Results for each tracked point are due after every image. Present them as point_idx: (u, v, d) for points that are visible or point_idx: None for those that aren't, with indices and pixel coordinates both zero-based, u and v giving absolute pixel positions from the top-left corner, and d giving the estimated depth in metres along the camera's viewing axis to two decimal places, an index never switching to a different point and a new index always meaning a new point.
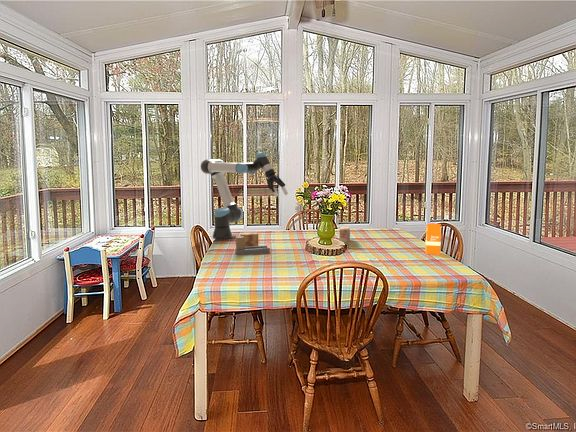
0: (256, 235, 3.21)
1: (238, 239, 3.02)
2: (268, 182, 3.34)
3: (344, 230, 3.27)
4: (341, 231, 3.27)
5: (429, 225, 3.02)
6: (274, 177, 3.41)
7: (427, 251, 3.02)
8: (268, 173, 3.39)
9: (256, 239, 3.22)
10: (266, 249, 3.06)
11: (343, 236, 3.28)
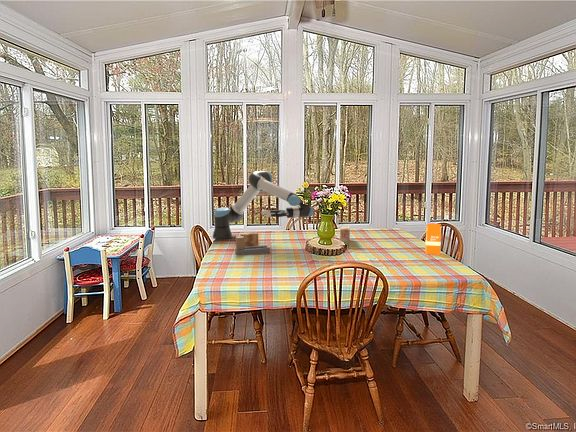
0: (256, 235, 3.21)
1: (238, 239, 3.02)
2: (282, 214, 3.18)
3: (345, 230, 3.27)
4: (342, 231, 3.27)
5: (429, 225, 3.02)
6: None
7: (427, 251, 3.02)
8: (290, 214, 3.25)
9: (256, 239, 3.22)
10: (266, 249, 3.06)
11: (343, 236, 3.28)
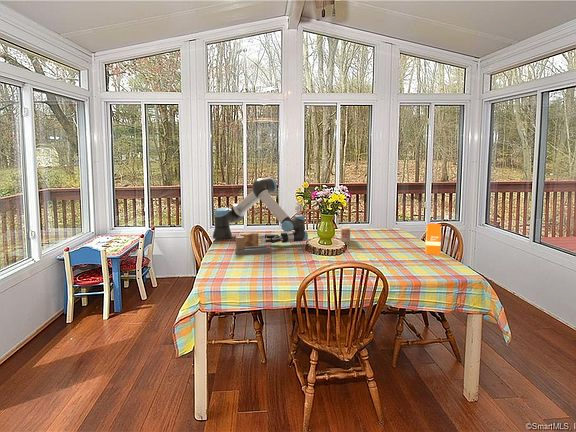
0: (256, 235, 3.21)
1: (238, 239, 3.02)
2: (277, 240, 3.19)
3: (346, 230, 3.27)
4: (343, 231, 3.27)
5: (429, 225, 3.02)
6: None
7: (427, 251, 3.02)
8: (284, 239, 3.26)
9: (256, 239, 3.22)
10: (266, 249, 3.06)
11: (345, 236, 3.28)
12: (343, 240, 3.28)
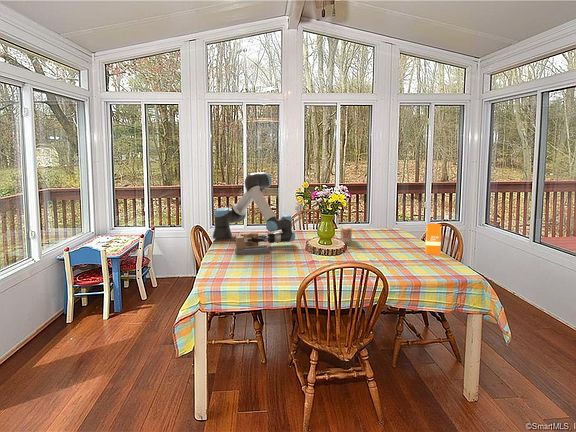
0: (256, 235, 3.21)
1: (238, 239, 3.02)
2: (260, 240, 3.19)
3: (347, 230, 3.27)
4: (344, 231, 3.28)
5: (429, 225, 3.02)
6: None
7: (427, 251, 3.02)
8: (271, 239, 3.24)
9: None
10: (266, 249, 3.06)
11: (346, 236, 3.28)
12: (344, 240, 3.29)
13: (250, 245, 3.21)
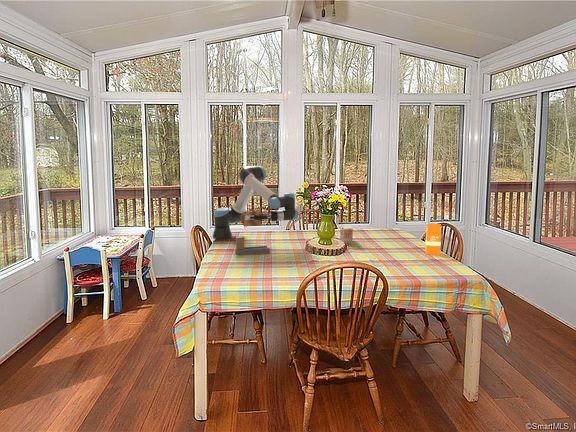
0: (259, 212, 3.15)
1: (238, 239, 3.02)
2: (262, 217, 3.12)
3: (349, 230, 3.28)
4: (346, 231, 3.28)
5: (429, 225, 3.02)
6: None
7: (427, 251, 3.02)
8: (274, 217, 3.17)
9: None
10: (266, 249, 3.06)
11: (347, 236, 3.28)
12: (346, 240, 3.29)
13: (253, 223, 3.15)
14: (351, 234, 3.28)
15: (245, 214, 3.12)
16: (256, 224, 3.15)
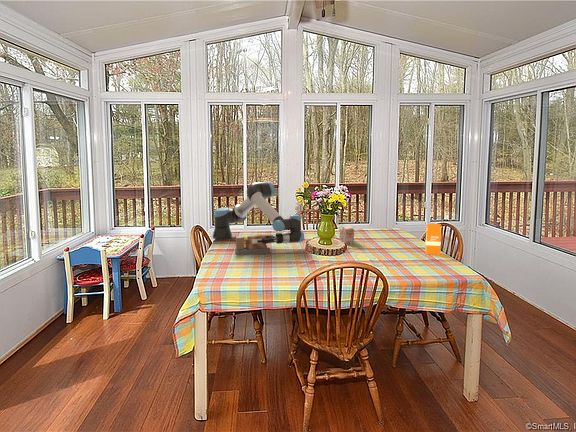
0: (264, 237, 3.07)
1: (238, 239, 3.02)
2: (270, 241, 3.03)
3: (350, 230, 3.28)
4: (347, 231, 3.28)
5: (429, 225, 3.02)
6: None
7: (427, 251, 3.02)
8: (279, 240, 3.09)
9: None
10: (266, 249, 3.06)
11: (349, 236, 3.29)
12: (347, 240, 3.29)
13: (257, 248, 3.07)
14: (352, 234, 3.29)
15: (250, 239, 3.04)
16: None
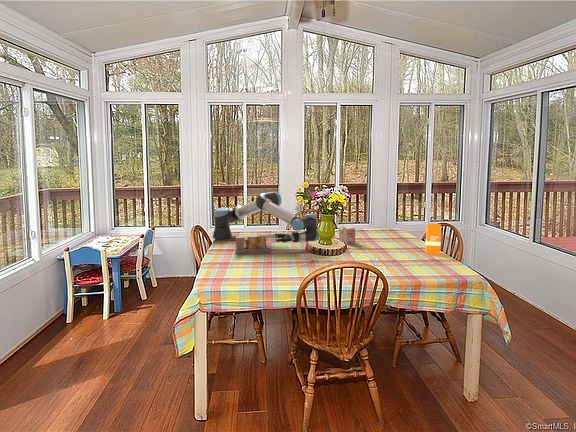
0: (264, 237, 3.07)
1: (238, 239, 3.02)
2: (288, 239, 3.06)
3: (351, 229, 3.29)
4: (349, 231, 3.28)
5: (429, 225, 3.02)
6: None
7: (427, 251, 3.02)
8: (296, 239, 3.12)
9: (264, 241, 3.07)
10: (266, 249, 3.06)
11: (350, 236, 3.29)
12: (348, 240, 3.30)
13: (257, 248, 3.07)
14: (354, 234, 3.29)
15: (250, 239, 3.04)
16: None
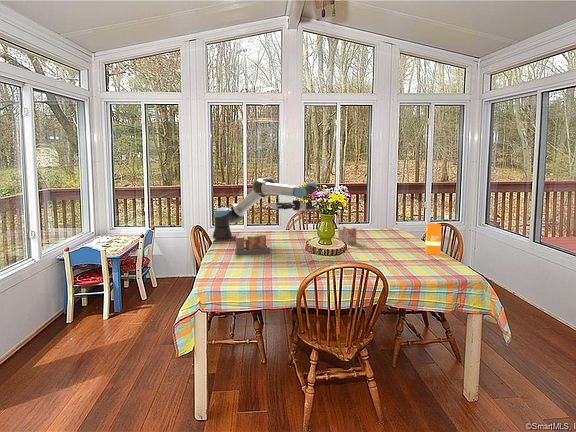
0: (264, 237, 3.07)
1: (238, 239, 3.02)
2: (289, 207, 3.11)
3: (353, 229, 3.29)
4: (350, 231, 3.29)
5: (429, 225, 3.02)
6: None
7: (427, 251, 3.02)
8: (296, 206, 3.18)
9: (264, 241, 3.07)
10: (266, 249, 3.06)
11: (351, 236, 3.30)
12: (350, 240, 3.30)
13: (257, 248, 3.07)
14: (355, 233, 3.30)
15: (250, 239, 3.04)
16: None
